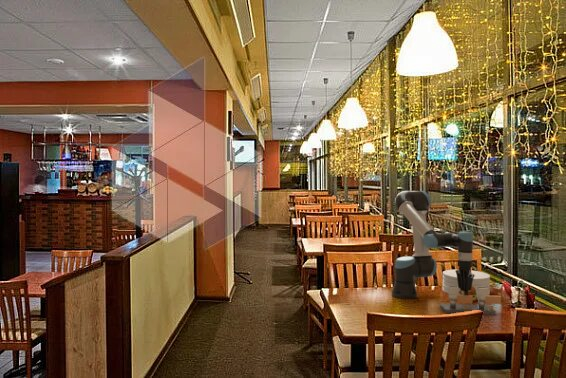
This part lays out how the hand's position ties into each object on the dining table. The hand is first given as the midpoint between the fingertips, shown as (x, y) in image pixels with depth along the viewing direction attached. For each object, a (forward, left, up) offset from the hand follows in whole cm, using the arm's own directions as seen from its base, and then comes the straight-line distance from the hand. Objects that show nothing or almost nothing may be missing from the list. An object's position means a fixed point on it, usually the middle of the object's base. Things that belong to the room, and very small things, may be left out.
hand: (464, 302), depth 254 cm
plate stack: (+13, +41, -4) cm, 43 cm away
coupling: (-3, -3, +1) cm, 4 cm away
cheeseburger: (+8, +21, -4) cm, 23 cm away
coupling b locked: (+12, -3, +1) cm, 12 cm away
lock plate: (+1, -3, -4) cm, 5 cm away
